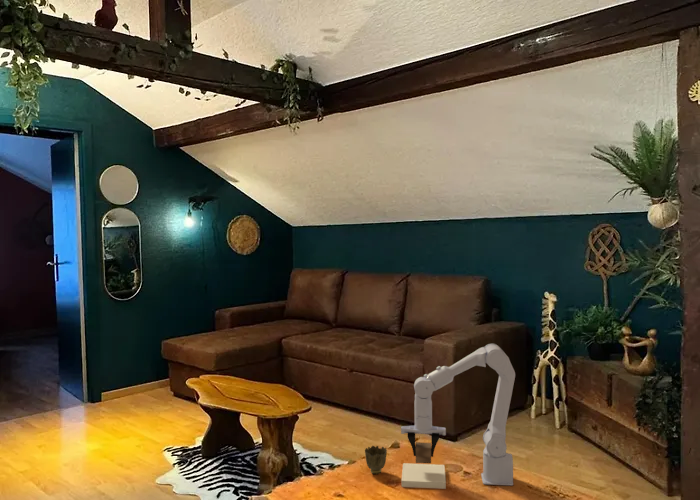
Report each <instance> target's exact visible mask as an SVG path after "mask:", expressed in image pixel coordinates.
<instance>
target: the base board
mask: <svg viewBox="0 0 700 500" xmlns="http://www.w3.org/2000/svg"><path fill="white" fill-rule="evenodd" d="M446 484H447V481H446V468H445V464H434V463H433V464H432V463H410V462H409V463H407V462H404V463H402V472H401V485H400V486H401V488H419V489H420V488H423V489H440V490H441V489H443V490H446V489H447V488H446V487H447V485H446Z"/></svg>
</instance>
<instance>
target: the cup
mask: <svg viewBox="0 0 700 500" xmlns="http://www.w3.org/2000/svg"><path fill="white" fill-rule="evenodd" d="M364 449H365V450H364V453H365V456H364V457H365V463H366V465H367V467H368V468H369V469H370V473H371V474H373V475H380V474H381V472H382V469H383V468H384V466H385V465H386V460H387V453H388V450H387V448H386V447H384V446H382V447H381V448H379V445H376V446H375V445H372V446H368V447H366V448H364Z"/></svg>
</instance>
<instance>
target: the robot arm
mask: <svg viewBox="0 0 700 500" xmlns="http://www.w3.org/2000/svg"><path fill="white" fill-rule="evenodd" d="M486 364H487V365H488V366H489V368H491V369H493V371H495V372H496V373H497V374H498V380H497V385H496V391H495V396H494V399H493V400H494V401H493V405H492V412H491V417H490V421H489V423H488V425H487V429H486V430H485V432H483V436H482V441H483V443H484V445H485V447H484V449H483V450H482V452H483V453H482V456H483V457H482V462H483V463H482V465H483V466H482V467H483V468H482V472H481V473H480V476H481V481H482V484H483V485H492V486H493V485H494V486H497V485H498V486H514V461H513V454H511V453H509V452H508V453H507V452H506V451H507V450H508V449H507V442H506V436H507V435H506V434H507V433H506V432H507V430H506V428H507V427H506V426H507V421H508V416H509V410H510V404H511V400H512V395H513V389H514V383H515V378H516V372H515V369H514V367H513V365H512V363H511V360H510V357H509V356H508V355H507V354H506V353H505V351H504V350H503V349H502V347H500V346H499V345H497V344H496V343H488V344H486V345H485V346H482V347H479V348H478V349H476V350H475V351H473V352H472V353H470V354H468V355H466V356H465V357H463V358H462V359H460V360H458V361H457V362H455V363H453V364H452V365H450V366H447V365H443V366H440V365H437V367H436V369H435V370H433V371H431V372H429V373H425V374H423V376H420V377H418V378H416V379H415V381H414V384H413V388H414V393H415V394H414V402H413V403H414V407H413V408H414V410H413V411H414V412H413V413H414V425H402V426H401V427H400V434H401V435H404V434H407V440H408V441H409V444H410V446H411V449H412V453H413V457H416V435H417V434H418V435H419V434H420V435H431V458H433V457H434V454H435V453H434V452H435V449H436V446H437V445H438V442H439V440H440V435H442V436H446V435H447V428H446V427H442V426H436V425H435V426H434V425H433V400H432V395H433V393H434V392H436V391H437V390H440V389H441V388H443V387H446V385H449V384H450V383H452V382H453V381H454V377H455V376H457V375H459V374H461V373H463V372H465V371H468V370H469V369H471V368H473V367H476V366H477V367H484V368H486V366H487V365H486Z"/></svg>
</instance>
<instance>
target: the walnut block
mask: <svg viewBox="0 0 700 500" xmlns="http://www.w3.org/2000/svg"><path fill="white" fill-rule="evenodd" d="M431 444H432V442H419V441H417V442H416V441H415V446H416V456H415V464H432V457H431Z"/></svg>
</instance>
